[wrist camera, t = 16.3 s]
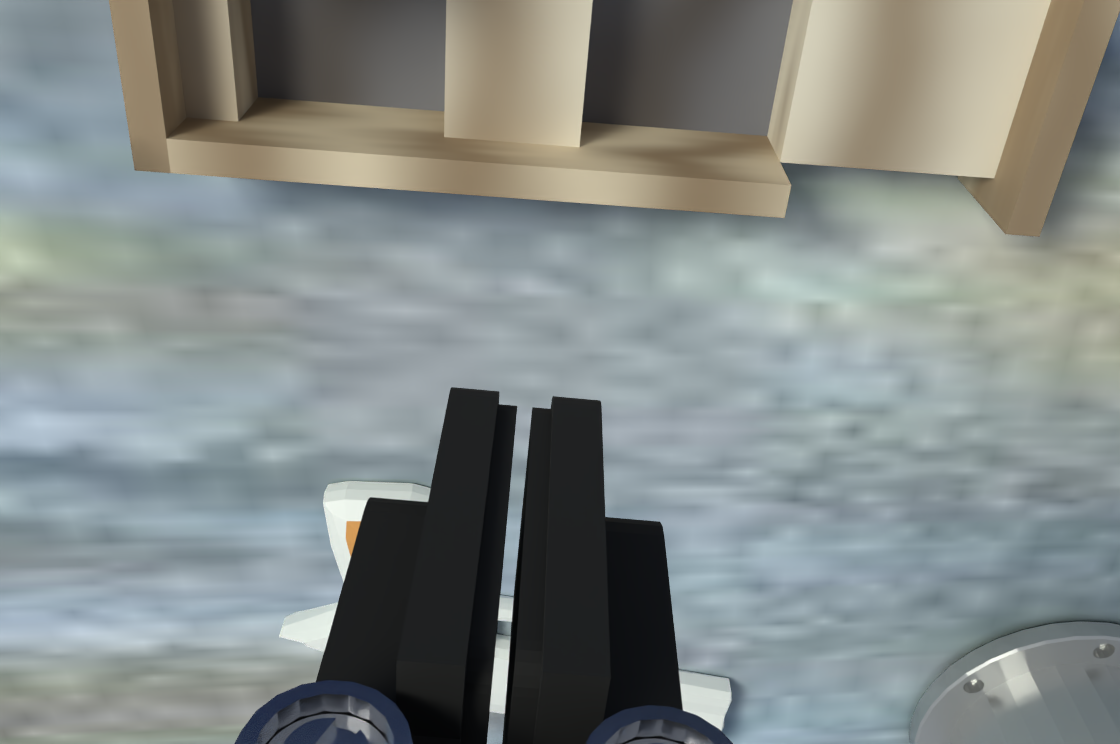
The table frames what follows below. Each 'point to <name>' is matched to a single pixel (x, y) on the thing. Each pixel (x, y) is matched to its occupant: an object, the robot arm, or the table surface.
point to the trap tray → (614, 95)
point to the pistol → (343, 523)
